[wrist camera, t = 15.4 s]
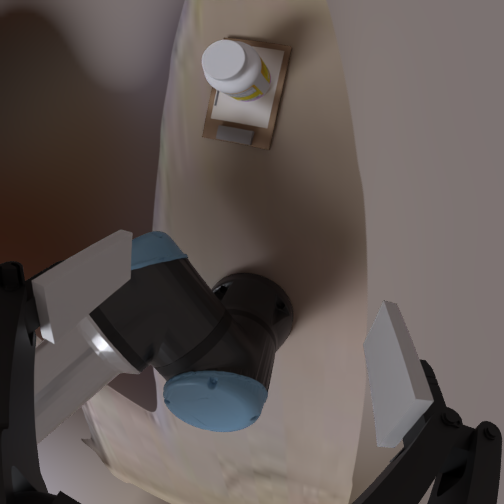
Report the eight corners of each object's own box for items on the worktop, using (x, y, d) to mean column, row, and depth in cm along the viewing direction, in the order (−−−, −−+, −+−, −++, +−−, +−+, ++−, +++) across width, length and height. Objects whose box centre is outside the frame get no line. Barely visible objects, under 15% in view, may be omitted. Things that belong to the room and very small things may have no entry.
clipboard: (269, 149, 43) (267, 150, 41) (204, 137, 44) (199, 137, 42) (291, 48, 37) (290, 43, 35) (225, 39, 38) (221, 35, 36)
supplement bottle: (242, 52, 37) (215, 22, 25) (280, 74, 37) (268, 47, 26) (216, 88, 40) (181, 71, 28) (254, 111, 40) (231, 98, 28)
